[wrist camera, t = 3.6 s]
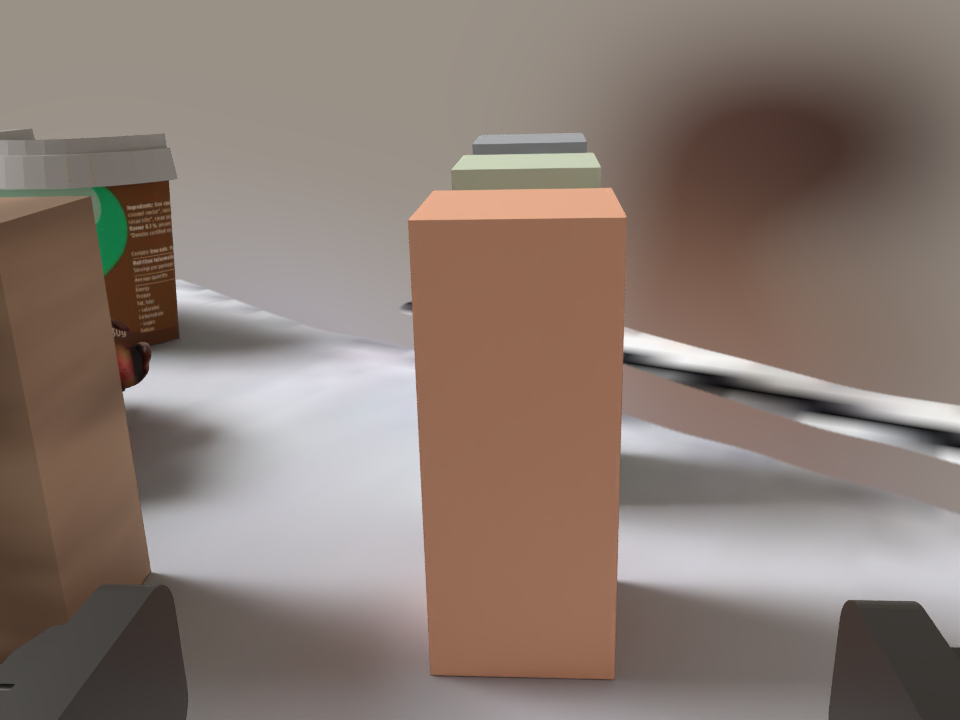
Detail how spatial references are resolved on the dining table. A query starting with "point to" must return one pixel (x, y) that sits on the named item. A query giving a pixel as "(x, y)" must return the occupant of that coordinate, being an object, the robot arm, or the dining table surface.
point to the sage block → (526, 172)
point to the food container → (111, 216)
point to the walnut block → (60, 423)
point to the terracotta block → (520, 427)
